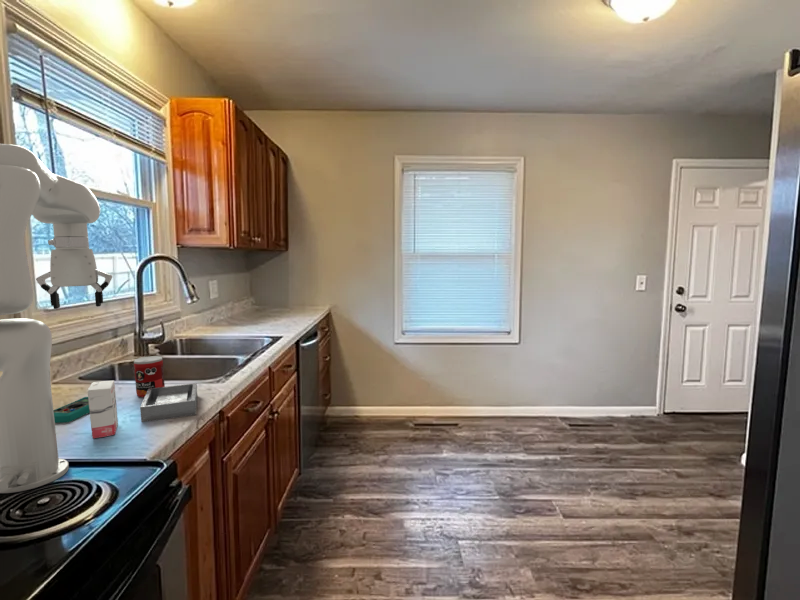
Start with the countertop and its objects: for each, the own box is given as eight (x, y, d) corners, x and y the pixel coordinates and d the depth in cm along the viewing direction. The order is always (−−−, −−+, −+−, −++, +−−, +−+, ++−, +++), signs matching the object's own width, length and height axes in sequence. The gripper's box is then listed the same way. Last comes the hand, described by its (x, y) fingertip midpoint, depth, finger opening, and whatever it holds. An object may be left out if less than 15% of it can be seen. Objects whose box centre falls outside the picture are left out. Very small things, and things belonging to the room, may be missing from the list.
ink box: (115, 435, 114) (110, 387, 113) (91, 439, 112) (86, 390, 111) (118, 423, 122) (114, 379, 120) (96, 427, 120) (92, 381, 118)
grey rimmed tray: (195, 414, 127) (194, 400, 127) (141, 422, 122) (140, 407, 122) (197, 395, 144) (196, 383, 143) (149, 401, 139) (148, 388, 138)
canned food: (130, 396, 144) (127, 361, 143) (150, 389, 152) (147, 355, 151) (151, 398, 142) (149, 362, 141) (170, 390, 150) (168, 356, 149)
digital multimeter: (42, 424, 124) (41, 413, 123) (86, 405, 138) (85, 395, 138) (67, 425, 123) (66, 414, 122) (109, 405, 137) (108, 396, 137)
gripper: (28, 244, 120) (35, 311, 122) (106, 243, 127) (112, 306, 129) (37, 244, 127) (44, 307, 129) (111, 243, 134) (116, 303, 136)
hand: (78, 307), depth 129 cm, fingers open, 9 cm apart
